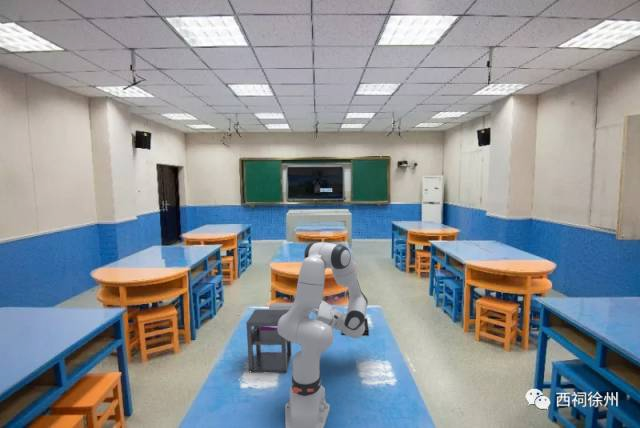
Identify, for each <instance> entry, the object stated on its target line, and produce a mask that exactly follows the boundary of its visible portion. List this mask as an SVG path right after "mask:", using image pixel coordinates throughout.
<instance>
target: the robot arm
mask: <svg viewBox="0 0 640 428" xmlns="http://www.w3.org/2000/svg"><path fill="white" fill-rule="evenodd" d="M351 254H352V253H351V252H350V250H349V248H348V247H347V246H346V245H344V244H337V243H331V242H325V241H323V242H322V241H321V242H319V241H313V242H310V243H309V244H307V246H306V247H305V249H304V255H303V257H304V259H303V261H302V263H301V265H300V269H299V274H298V277H297V286H296V292H295V296H294V301H293V302H292V303H293V305H292V307H291V309H290V310H289V311H288V312H287V313H286V314H284V315H283V316H282V317H281V318H280V319H279V321H278V325H277V331H278V334H279V335H280V336H281V337H283V338H284V339H286V340H288V341H290V342H291V343H294V344H297V345H300V347H301V350H300V351H298V352H296V353H295V354H294V356H293V358H292V376H291V385H290V387H289V400H288V402H287V403H285V405H284V418H285V419H284V420H285V421H284V422H285V426H284V427H285V428H325V426H326V422H327V419H328V416H329V413H330V409H331V406H330V404H329V403H327V402H326V391H325V390H326V389H325V387H324V386H323V385H322V376H321V373H320V360H321V356H322V354H323V353H324V352H325V351H326V350H328V349H329V348H330V347H331V346H332V345H333V342H334V339H335V337H334V336H335V333H334V330H338V331H340V332H341V334H342V333H344V334H346V335H345V336H348V337H350V338H352V339H360V338H361V337H362V335H363V333H364V331H365V326H364V322H365V318H366V317H367V308H368V303H369V301H368V299H367V297H366V295H365V294H364V293H363V291H362V289H361V286H360V284H359V280H358V275H357V269H356V265H355V262H354V260H353V256H352V255H351ZM326 269H329V270H330V269H331V272H332V276H333V278H334V280H335V283H336V285H338V286H340V287H343V288H347V291H348V293H349V296H348V297H349V298H348V302H347V309H346V313H344V312H342V311H340V310H339V309H336V308H333V306H332V305H331V304H330V303H328V302H326V301H325V300H323V296H324V289H325V288H324V287H325V281H326V280H325V278H326V275H325V274H326ZM315 308H316V309H315ZM311 313H313V314H314V315H316V316H315V318H313V317H310V314H311ZM333 329H334V330H333Z"/></svg>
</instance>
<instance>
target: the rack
mask: <svg viewBox="0 0 640 428" xmlns="http://www.w3.org/2000/svg"><path fill="white" fill-rule="evenodd" d="M288 311H289V310H269V309H254V310H253V312H252V314H251V315H250V317H249V318H248V319H247V321H246V339H247V356H248V372H249V371H251V372H250V373H264V372H269V373H275V374H276V373H280V374H283V373H286V374H287V373H288V370H289V367H290V362H291V358H292V354H293V353H292V342H290V341H288V340H286V339H284V338H283V337H281V336H280V335H279V334H278V331H260V327H277V325H278V321H279V319H280V318H281V317H282V316H283V315H284V314H286V313H287V312H288ZM254 345H255V348H256V349H255V350H256V354H255V357H254ZM262 345H263V346H266V345H267V346H269V345H270V346H271V345H272V346H275V345H276V346H278V345H279V346H280V345H281V352H274V351H273V352H267V351H266V352H265V351H262Z"/></svg>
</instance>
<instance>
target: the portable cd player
mask: <svg viewBox="0 0 640 428" xmlns="http://www.w3.org/2000/svg"><path fill="white" fill-rule="evenodd" d="M364 326H365V331H364V333H363V335H362V336H365V337H366V336H367V337H369V323H368V318H366V317H365V322H364ZM341 336H347V335H346V334H344V333H342V332H341ZM362 336H361V337H362Z"/></svg>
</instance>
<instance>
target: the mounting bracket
mask: <svg viewBox="0 0 640 428" xmlns="http://www.w3.org/2000/svg"><path fill="white" fill-rule="evenodd" d="M260 331H277V327H260Z"/></svg>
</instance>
